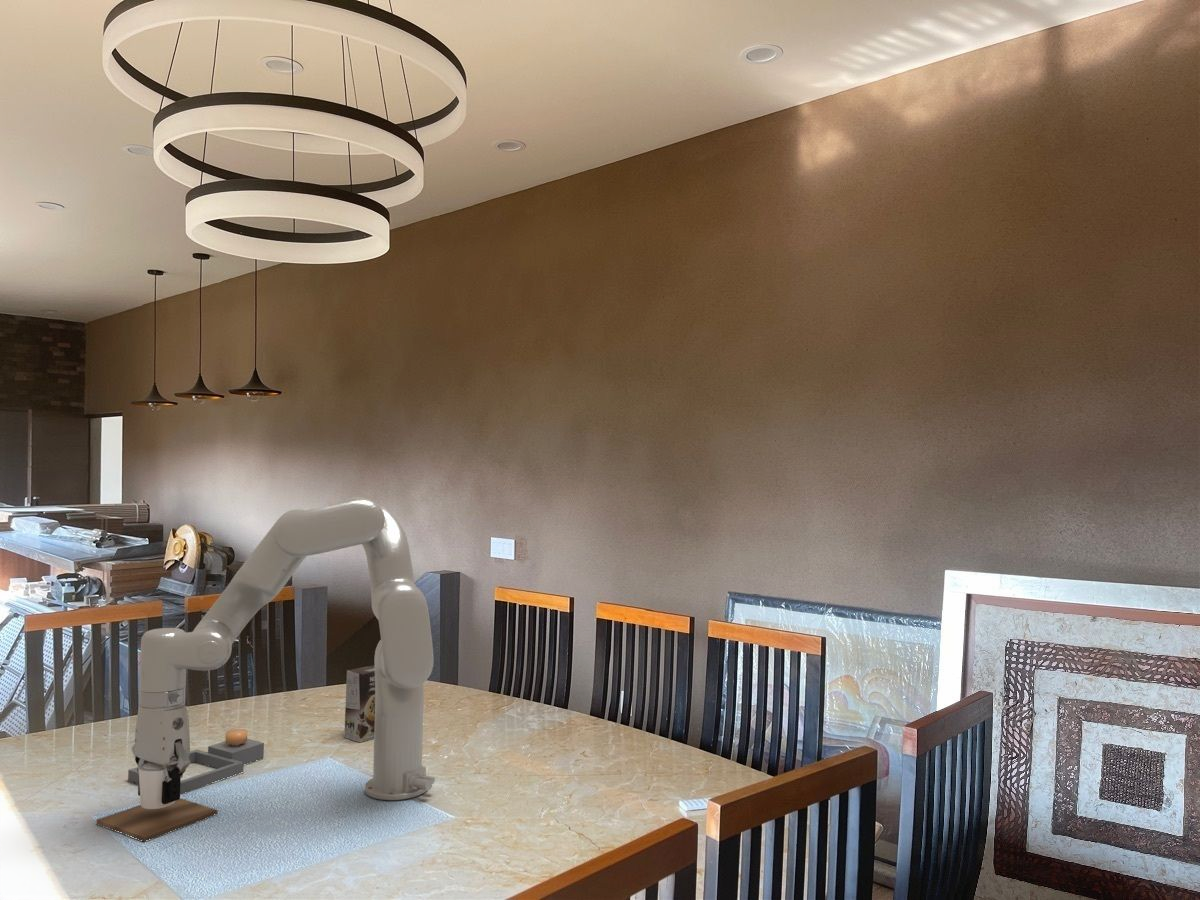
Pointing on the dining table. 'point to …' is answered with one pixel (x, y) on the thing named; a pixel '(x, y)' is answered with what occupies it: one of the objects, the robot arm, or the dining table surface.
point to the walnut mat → (156, 819)
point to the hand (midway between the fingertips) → (158, 796)
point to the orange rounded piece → (236, 737)
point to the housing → (217, 763)
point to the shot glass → (152, 785)
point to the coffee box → (360, 704)
